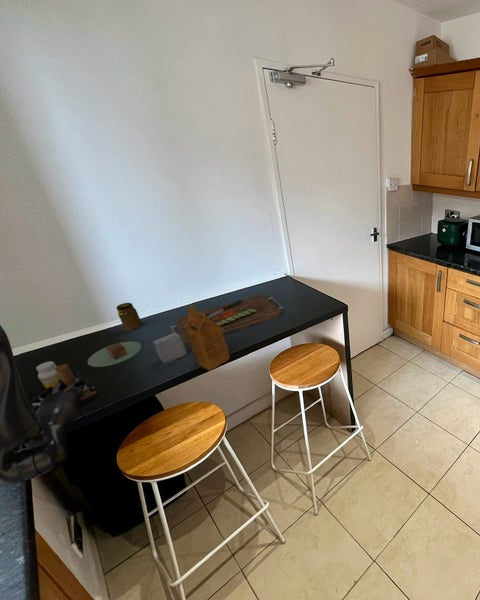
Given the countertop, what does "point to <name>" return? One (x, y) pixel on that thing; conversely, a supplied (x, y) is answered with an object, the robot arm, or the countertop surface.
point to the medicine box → (169, 347)
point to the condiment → (129, 317)
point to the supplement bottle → (48, 374)
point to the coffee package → (206, 340)
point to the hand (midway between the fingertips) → (72, 376)
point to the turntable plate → (104, 358)
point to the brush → (69, 378)
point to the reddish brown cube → (116, 351)
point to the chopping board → (236, 315)
